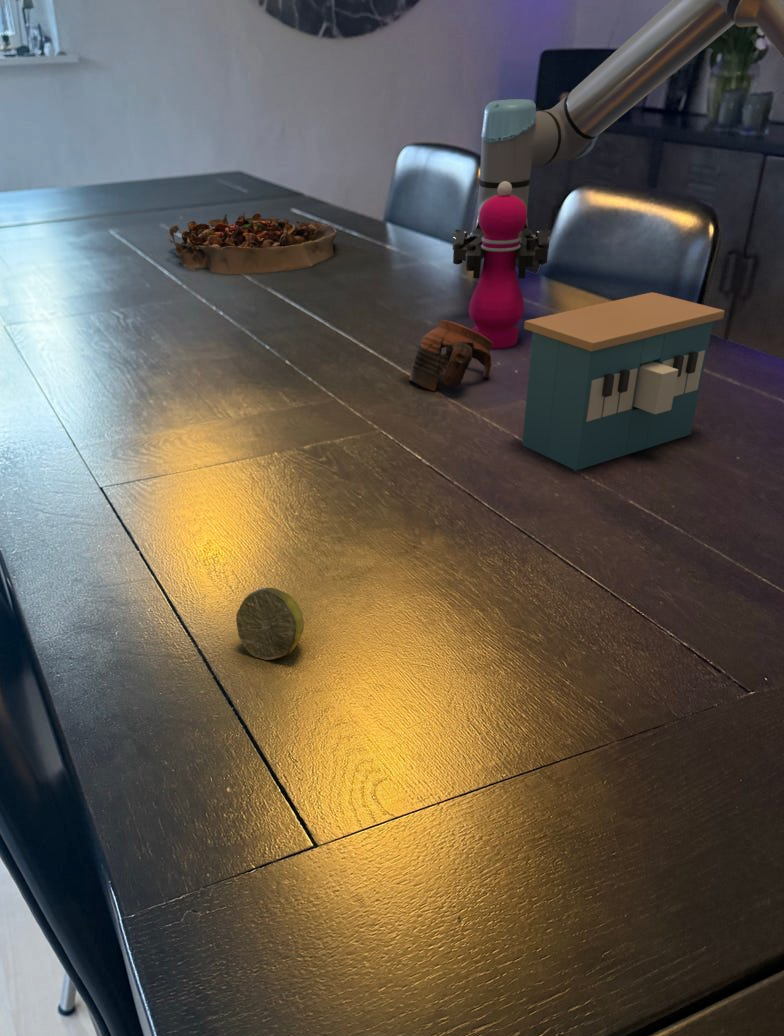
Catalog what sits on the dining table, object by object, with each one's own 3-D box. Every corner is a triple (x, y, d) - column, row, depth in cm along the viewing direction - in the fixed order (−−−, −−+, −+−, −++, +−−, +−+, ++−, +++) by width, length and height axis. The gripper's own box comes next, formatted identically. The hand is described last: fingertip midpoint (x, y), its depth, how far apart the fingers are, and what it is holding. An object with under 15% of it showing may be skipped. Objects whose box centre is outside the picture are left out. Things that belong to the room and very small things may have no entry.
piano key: (671, 410, 90) (678, 369, 88) (655, 414, 89) (662, 373, 87) (638, 398, 93) (645, 358, 91) (622, 402, 92) (628, 362, 90)
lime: (307, 664, 66) (304, 605, 63) (239, 670, 66) (233, 610, 63) (302, 630, 70) (299, 572, 67) (238, 635, 70) (232, 578, 67)
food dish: (169, 246, 195) (165, 205, 191) (325, 238, 197) (325, 198, 193) (167, 278, 165) (162, 231, 161) (350, 268, 168) (350, 222, 164)
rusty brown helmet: (397, 376, 118) (425, 314, 116) (462, 406, 120) (491, 345, 118) (416, 382, 107) (447, 313, 104) (487, 415, 109) (519, 347, 106)
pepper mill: (532, 342, 126) (547, 180, 115) (493, 354, 123) (504, 188, 111) (494, 331, 131) (505, 175, 120) (456, 342, 128) (463, 182, 116)
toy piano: (699, 435, 97) (725, 310, 90) (575, 474, 90) (592, 342, 83) (633, 410, 104) (652, 291, 97) (513, 445, 97) (524, 320, 90)
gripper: (561, 256, 136) (570, 298, 117) (438, 257, 139) (426, 297, 120) (567, 201, 131) (577, 234, 113) (440, 202, 135) (428, 235, 116)
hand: (499, 266), depth 116 cm, fingers closed on pepper mill, 5 cm apart
